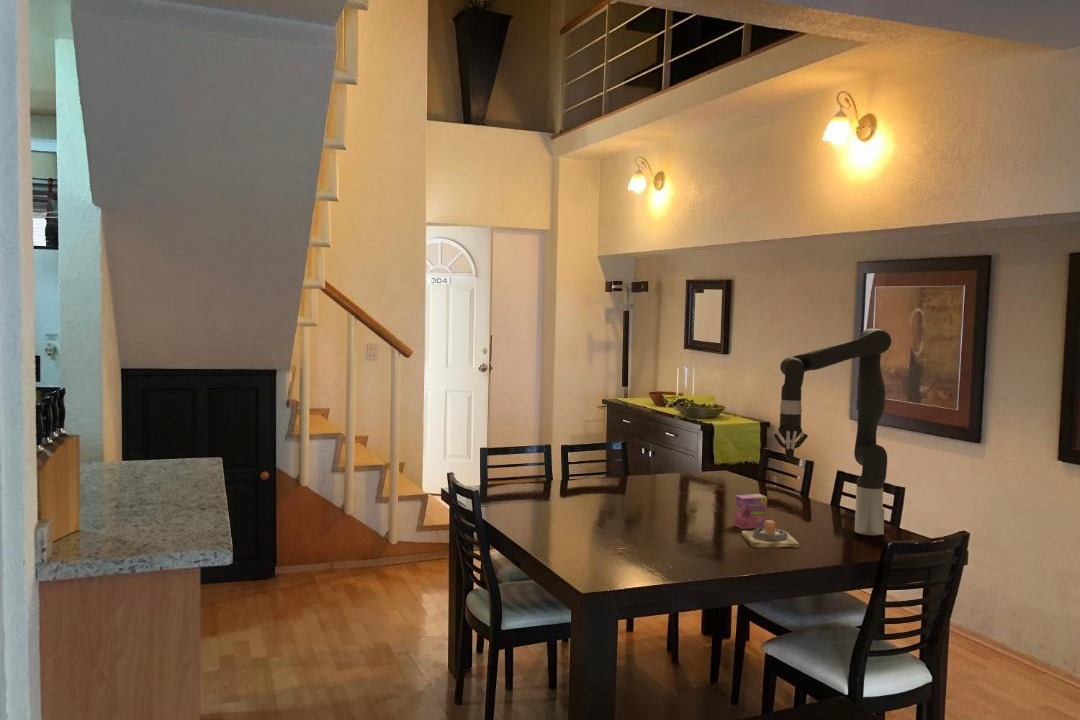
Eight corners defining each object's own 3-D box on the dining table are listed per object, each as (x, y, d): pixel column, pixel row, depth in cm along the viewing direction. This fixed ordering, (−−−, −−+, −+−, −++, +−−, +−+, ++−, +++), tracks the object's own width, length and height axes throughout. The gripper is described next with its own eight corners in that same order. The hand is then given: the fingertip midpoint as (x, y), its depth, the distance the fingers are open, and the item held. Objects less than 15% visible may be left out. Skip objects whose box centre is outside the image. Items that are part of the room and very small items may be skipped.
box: (741, 529, 320) (742, 498, 319) (734, 525, 326) (735, 494, 325) (766, 527, 323) (767, 496, 322) (758, 524, 328) (759, 493, 328)
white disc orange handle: (777, 534, 308) (777, 519, 307) (782, 539, 301) (782, 524, 300) (757, 534, 308) (757, 519, 307) (762, 539, 301) (762, 523, 300)
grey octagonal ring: (780, 533, 310) (781, 527, 309) (789, 541, 299) (789, 535, 299) (750, 532, 310) (750, 527, 309) (758, 540, 299) (758, 535, 299)
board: (785, 535, 312) (786, 531, 312) (798, 547, 296) (799, 543, 296) (741, 534, 312) (741, 530, 312) (752, 547, 296) (752, 542, 296)
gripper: (805, 411, 319) (804, 457, 320) (770, 410, 319) (768, 457, 320) (812, 413, 312) (810, 461, 313) (775, 413, 312) (773, 460, 313)
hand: (789, 458), depth 317 cm, fingers closed
